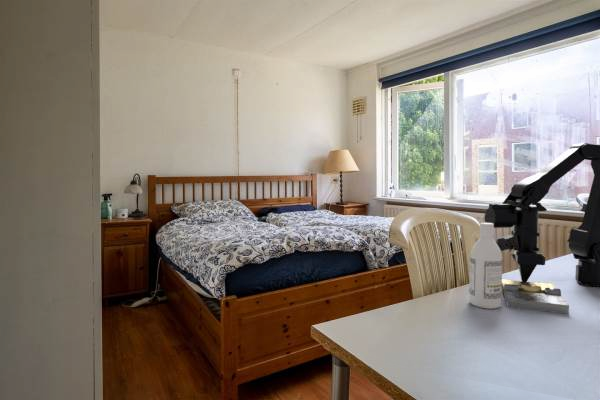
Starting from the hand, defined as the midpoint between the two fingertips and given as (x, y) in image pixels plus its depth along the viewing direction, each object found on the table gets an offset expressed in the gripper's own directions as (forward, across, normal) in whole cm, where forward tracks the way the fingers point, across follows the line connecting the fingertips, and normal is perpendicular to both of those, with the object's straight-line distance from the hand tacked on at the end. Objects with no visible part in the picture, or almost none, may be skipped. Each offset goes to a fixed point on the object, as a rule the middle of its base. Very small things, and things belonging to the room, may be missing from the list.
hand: (524, 281), depth 103 cm
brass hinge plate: (+1, +8, 0) cm, 8 cm away
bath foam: (+1, +20, -11) cm, 23 cm away
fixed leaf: (+1, +15, 0) cm, 16 cm away
